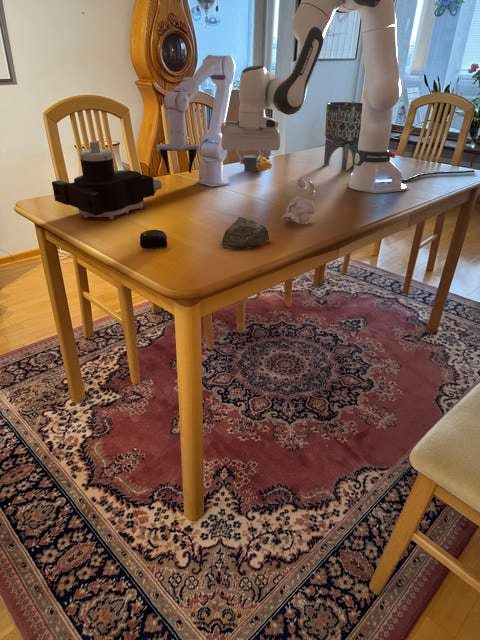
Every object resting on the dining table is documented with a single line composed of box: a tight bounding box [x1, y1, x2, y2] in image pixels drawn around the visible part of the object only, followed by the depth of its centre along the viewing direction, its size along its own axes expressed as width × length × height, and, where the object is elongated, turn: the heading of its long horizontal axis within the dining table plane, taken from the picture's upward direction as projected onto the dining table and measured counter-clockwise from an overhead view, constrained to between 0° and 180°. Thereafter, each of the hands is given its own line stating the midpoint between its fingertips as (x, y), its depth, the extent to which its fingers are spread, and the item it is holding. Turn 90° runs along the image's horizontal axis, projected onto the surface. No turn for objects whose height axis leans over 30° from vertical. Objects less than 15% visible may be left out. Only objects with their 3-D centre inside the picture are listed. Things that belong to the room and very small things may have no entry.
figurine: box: [281, 177, 316, 225], centre depth 135 cm, size 8×15×13 cm, turn 145°
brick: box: [243, 154, 257, 173], centre depth 159 cm, size 4×4×5 cm
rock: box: [221, 216, 270, 250], centre depth 119 cm, size 13×9×6 cm, turn 131°
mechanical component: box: [51, 141, 163, 220], centre depth 140 cm, size 22×21×30 cm
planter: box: [323, 101, 363, 172], centre depth 204 cm, size 20×20×26 cm
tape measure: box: [139, 229, 168, 250], centre depth 117 cm, size 7×7×4 cm
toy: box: [256, 156, 273, 172], centre depth 200 cm, size 11×6×15 cm
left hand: (179, 172), depth 161 cm, fingers open, 7 cm apart
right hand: (250, 163), depth 159 cm, fingers closed on brick, 4 cm apart
